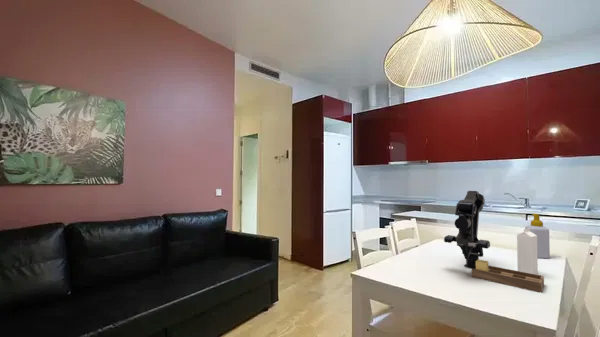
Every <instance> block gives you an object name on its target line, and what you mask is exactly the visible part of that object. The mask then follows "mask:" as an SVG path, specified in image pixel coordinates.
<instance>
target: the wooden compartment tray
mask: <svg viewBox="0 0 600 337" xmlns="http://www.w3.org/2000/svg"><path fill="white" fill-rule="evenodd" d="M471 278H475V279H479V280H484V281H488V282H493V283H496V284H499V285H500V284H501V285H506V286H509V287H515V288H518V289H523V290H527V291H533V292H536V293H540V292H541V293H543V292H542V291H543V288H544V286H545V276H544V275H541V274H538V275H536V274H530V273H525V272H520V271H518V270H514V269H509V268H503V267H498V266H492V265H489V264H488V272H487V271H482V270H477V269H475V268H471Z"/></svg>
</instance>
